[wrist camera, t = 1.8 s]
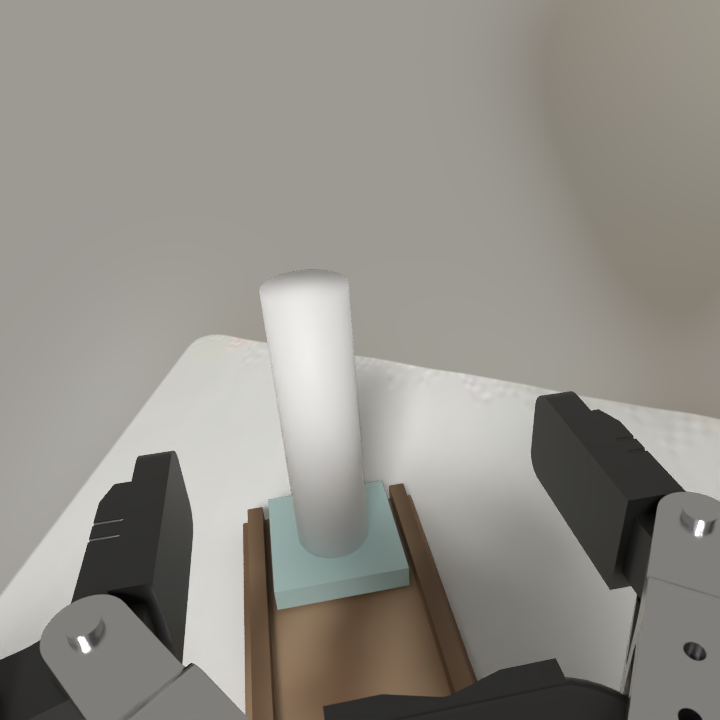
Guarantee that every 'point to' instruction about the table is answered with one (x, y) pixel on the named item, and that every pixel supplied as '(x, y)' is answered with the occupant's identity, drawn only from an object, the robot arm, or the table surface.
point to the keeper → (323, 451)
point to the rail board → (348, 633)
